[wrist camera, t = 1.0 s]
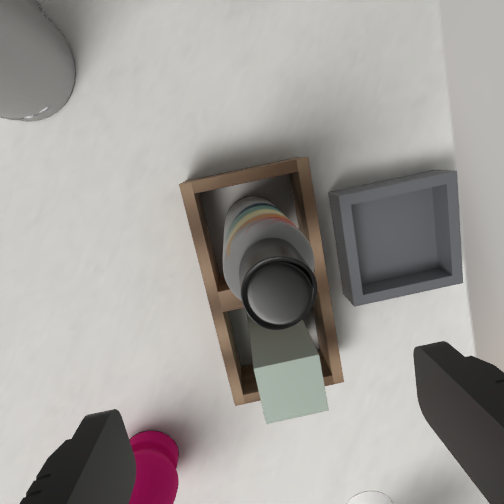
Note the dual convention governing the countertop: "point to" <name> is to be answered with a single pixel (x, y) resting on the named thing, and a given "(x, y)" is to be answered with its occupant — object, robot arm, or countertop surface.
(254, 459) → the countertop surface
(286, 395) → the grey-green block
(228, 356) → the frame
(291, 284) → the lotion bottle
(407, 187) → the tray
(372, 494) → the champagne flute
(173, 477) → the pepper mill
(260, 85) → the countertop surface
